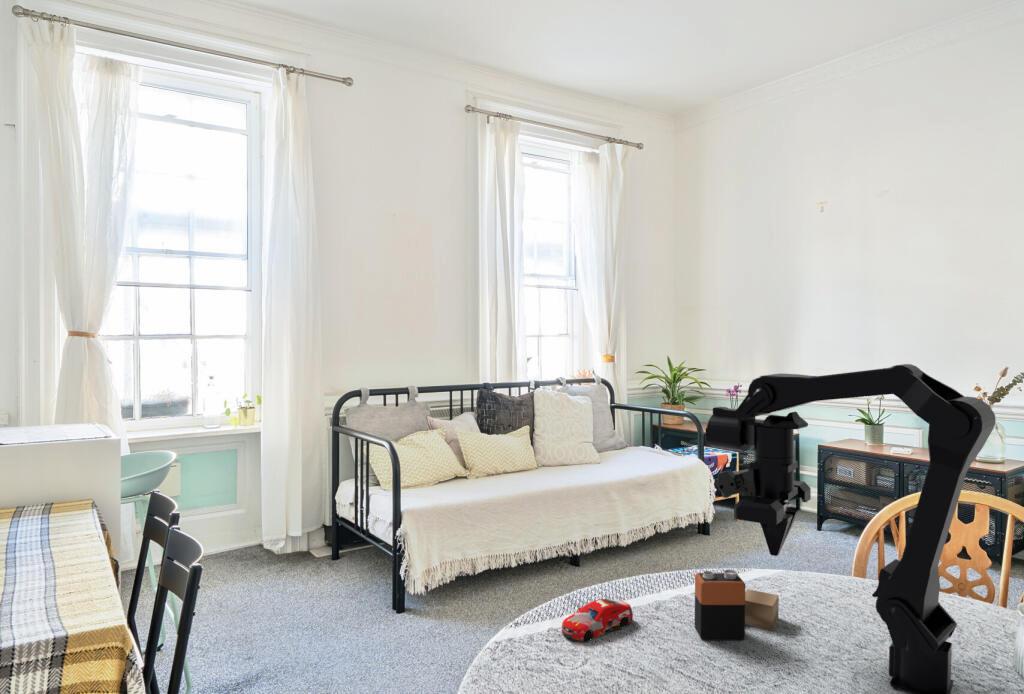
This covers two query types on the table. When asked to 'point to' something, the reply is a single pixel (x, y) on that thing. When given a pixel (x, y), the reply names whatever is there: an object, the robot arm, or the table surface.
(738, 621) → the battery
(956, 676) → the table surface
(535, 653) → the table surface
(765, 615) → the walnut block
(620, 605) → the race car
